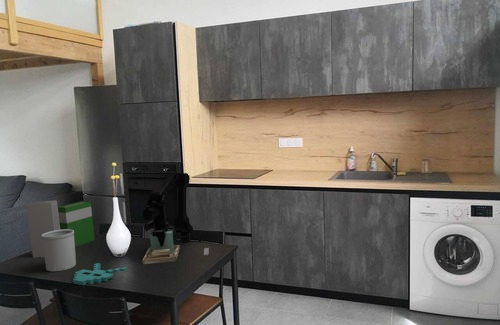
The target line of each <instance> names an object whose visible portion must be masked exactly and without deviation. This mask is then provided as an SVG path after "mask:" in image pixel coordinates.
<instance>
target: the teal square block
mask: <svg viewBox="0 0 500 325" xmlns="http://www.w3.org/2000/svg"><path fill="white" fill-rule="evenodd" d="M149 239H150V240H149V241H150V248H151V251H152V252H153V250H162V249H170V253H174V245H175V244H174V236H173V231H172V230H171V231H170V230H168V231H167V232H166V237H165V240H164V244H163V246H160V243H159V240H158V238H157V237H156V236H154V237H153V236H152V232H151V233H150V234H149Z"/></svg>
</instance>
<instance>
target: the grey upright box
mask: <svg viewBox="0 0 500 325" xmlns="http://www.w3.org/2000/svg"><path fill="white" fill-rule="evenodd" d="M58 207H59V206H58V200H40V201H32V202H30V203H26V212H27V219H28V220H27V221H28V228H29V236H30V243H31V244H30V245H31V253H32V258H33V259H38V257H41V258H45V256H44V249H43V240H42V237H41V235H42V234H44V233H47V232H50V231H55V230H60V224H59V215H58Z"/></svg>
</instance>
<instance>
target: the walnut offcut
mask: <svg viewBox="0 0 500 325" xmlns="http://www.w3.org/2000/svg"><path fill="white" fill-rule="evenodd" d="M148 257H149V259H153V258H164V257H170V253H169V254H167V255H153V256H152V253H151V254H149V256H148Z"/></svg>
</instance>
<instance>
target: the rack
mask: <svg viewBox="0 0 500 325" xmlns="http://www.w3.org/2000/svg"><path fill="white" fill-rule="evenodd" d="M173 245H174V253H170V254H173V257H164V258H153V259H148V256H149V254H151V253H152V251H151V247H149V248H148V249H147V251H146V252H145V254H144V255H143V256H144V257H143V258H142V265H148V264H150V265H151V264H161V263H170V262H171V263H172V262H177V260H178V255H179V253H180V249H181V248H180V244H177V245H175V244H173Z"/></svg>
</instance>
